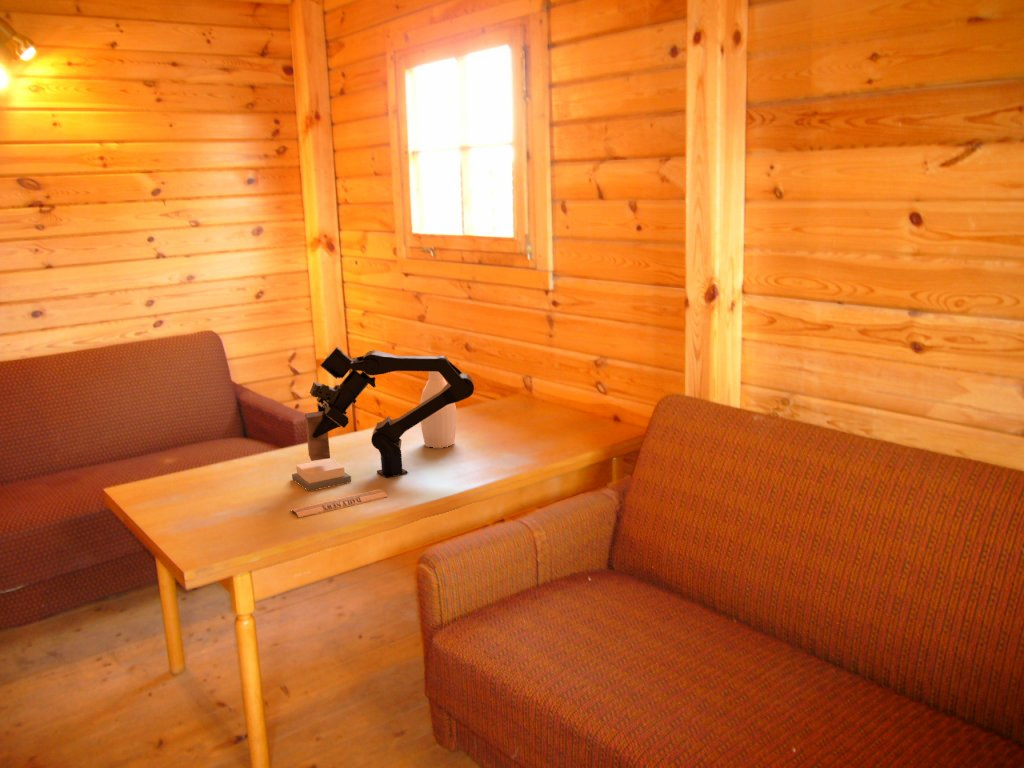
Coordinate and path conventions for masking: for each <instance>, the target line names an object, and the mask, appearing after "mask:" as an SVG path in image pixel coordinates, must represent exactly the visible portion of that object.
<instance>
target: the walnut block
mask: <svg viewBox="0 0 1024 768" xmlns="http://www.w3.org/2000/svg"><path fill="white" fill-rule="evenodd" d="M323 412H324V411H323ZM304 418H305V419H304V420H305V429H306V430H305V431H306V438H307V439H306V440H307V441H306V442H307V447H308V449H307V450H308V457H309V459H310V462H314V461H319V460H324V459H330V458H331V454H330V453H331V451H330V441H329V432H327V433H325V434H323V435H321V436H319V437H317V438H314V437H313V436H312V435H313V433H314V431H315V430H316V428H317V426H318V425H319V423H320V421H321V420H322V411H320V412H318V411H313V412H306V413H304Z"/></svg>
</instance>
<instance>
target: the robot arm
mask: <svg viewBox="0 0 1024 768" xmlns="http://www.w3.org/2000/svg"><path fill="white" fill-rule="evenodd" d="M319 366H320V367H321V368H322V369H323V370H325V371H326V372H327V373H328V374H330V375H331V376H332V377H334V379H343V378H344V377H345V376H346V377H345V378H344V380H343V381H342V382H341V383H340V384H335V385H334V387H331V386H329V385H326V384H324V383H319V382H316V381H314V382H313V383H312V385H311V388H310V391H309V394H310V395H311V396H312V397H314V398H316V401H317V402H318V403H316V407H317V412H320V411H322V420H321V421H320V423H319V425H318V426H317V428H316V430H315V431H314V433H313V435H312V436H313V437H314V438H317V437H319V436H321V435H323V434H325V433H327V432H328V433H329V432H331V431H333V430H335V429H338V428H343V429H345V428H346V427H347V425H348V424H349V417H348V415H347V413H348V412H347V410H348V409H349V408H350V406H351V405H353V404H355V403H357V401H358V400H357V398H358V397H359V396H360V395H361V394H362V392H363V391H364V390H365V388H366V387H368V385H370V386H371V387H373V388H376V387H377V386H376V377H375V376H378V375H385V374H388V373H391V372H429V371H437V372H439V373H440V374H441V375H442V376H443V377H444V380H445V381H446V383H447V385H446V386H445V387H444V388H443V389H442V390H441V391H440V392H439V393H437V394H435V395H434V396H432V397H431V398H429V399H428V400H426V401H424V402H423V403H421V404H420V403H419V405H417V406H415V407H414V408H412V409H410V410H409V411H407V412H406V413H404V414H402V415H401V416H400V417H397V418H394V419H391V417H390V416H389V415H388V416H387V417H385V419H384V420H382V421H379V422H376V426H375V427H374V429H373V430H372V431H373V432H372V435H371V444H372V446H373V447H374V448H375V449H377V450H378V452H379V454H380V465H381V466H380V467H381V469H377V470H376V472H377V474H379V475H381V476H383V477H385V478H388V479H389V478H393V477H396V476H400V475H405V474H408V473H409V472H408V470H406V469H405V468H403V457H402V455H403V454H402V450H401V448H402V439H401V438H400V437H402V436H403V435H404V434H405V432H407V431H409V430H410V429H411V428H413V427H415V426H416V425H418V424H421V421H423V420H424V419H426V418H427V417H429V416H431V415H432V414H434V413H435V412H437V411H438V410H440V409H442V408H443V407H445V406H446V405H448V404H452V403H455V404H456V403H458V402H461V401H463V400H466V399H468V398H470V397H471V396H472V395H473V394H474V390H475V387H474V386H475V384H474V380H473V378H472V377H471V375H470V374H467V373H465V372H464V373H463V372H462V371H461V370H460V369H459V368H458V367H457V366H455V364H453V363H452V362H451V361H450V360H449V359H448V357H447V356H445V355H437V356H436V355H434V356H433V355H396V354H392V353H388V352H384V351H379V350H369V351H367V352H366V353H365V354H364V355H361V356H356V357H352V358H351V357H350V356H348V355H347V354H346V353H345V352H343V351H342V349H341V348H340V347H338V346H336V347H335V348H334V350H333V351H332V352H331V353H329V354H328V355H327V356H326V358H325V359H324V360H323V361H322V362H321V363H320V365H319ZM350 370H351V371H350ZM349 371H350V372H349ZM348 372H349V373H348ZM347 373H348V374H347ZM371 376H372V377H371ZM319 403H320V404H319ZM323 411H324V412H323Z"/></svg>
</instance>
